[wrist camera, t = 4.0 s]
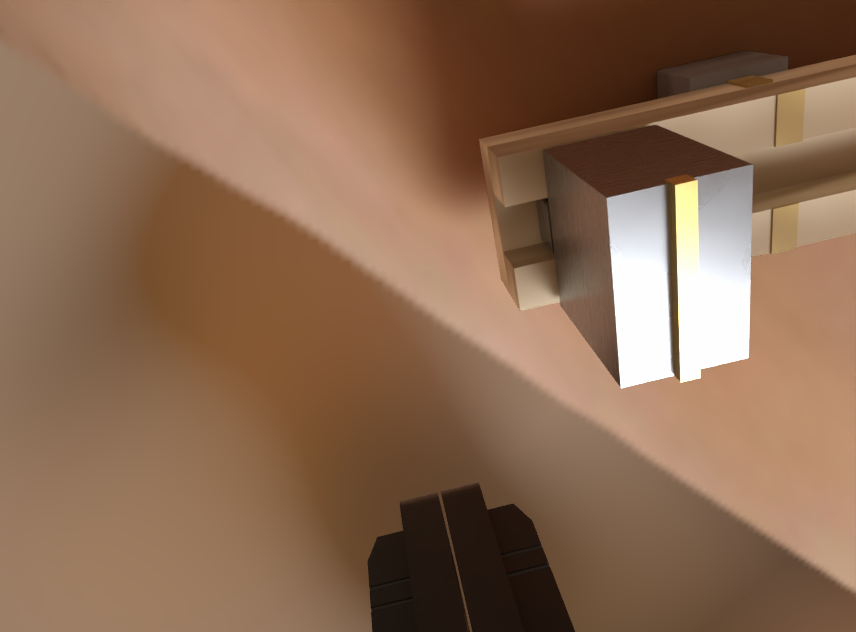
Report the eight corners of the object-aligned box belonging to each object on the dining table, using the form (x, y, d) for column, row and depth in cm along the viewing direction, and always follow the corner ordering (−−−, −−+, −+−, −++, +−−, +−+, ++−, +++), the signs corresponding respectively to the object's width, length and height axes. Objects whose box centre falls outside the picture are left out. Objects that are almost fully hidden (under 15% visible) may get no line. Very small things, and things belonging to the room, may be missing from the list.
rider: (528, 138, 25) (611, 199, 17) (634, 114, 25) (760, 165, 18) (546, 288, 27) (625, 395, 20) (642, 266, 28) (754, 364, 20)
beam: (463, 113, 29) (496, 143, 23) (934, 8, 29) (1080, 12, 24) (487, 264, 32) (522, 323, 26) (913, 166, 33) (1037, 203, 27)
